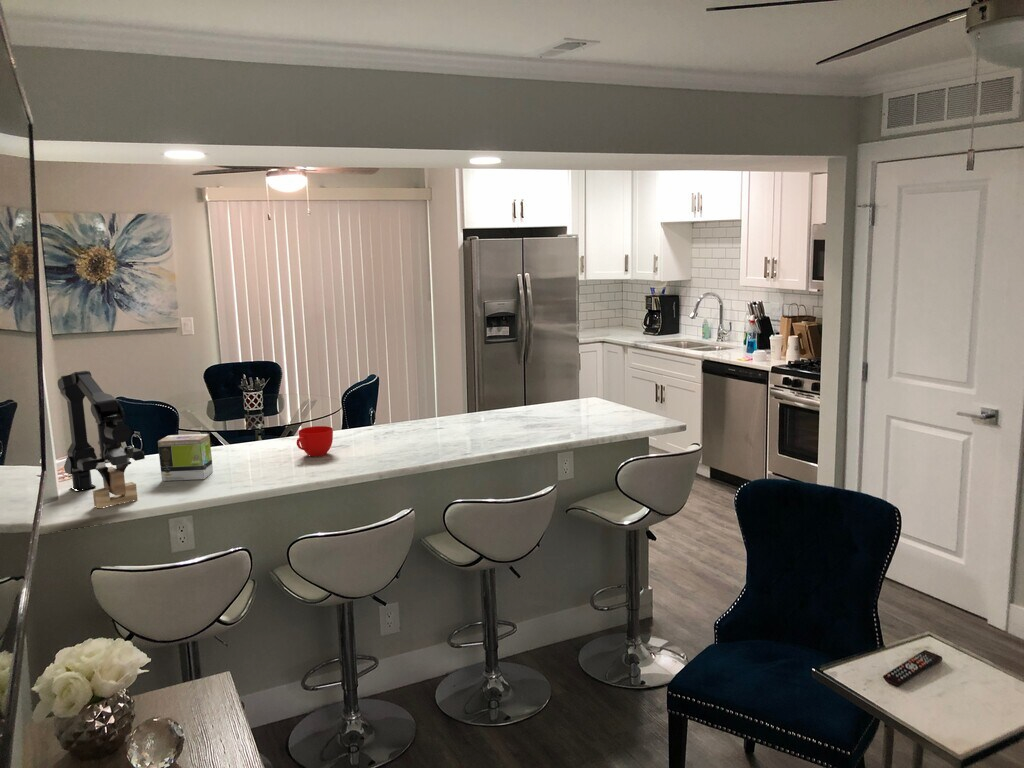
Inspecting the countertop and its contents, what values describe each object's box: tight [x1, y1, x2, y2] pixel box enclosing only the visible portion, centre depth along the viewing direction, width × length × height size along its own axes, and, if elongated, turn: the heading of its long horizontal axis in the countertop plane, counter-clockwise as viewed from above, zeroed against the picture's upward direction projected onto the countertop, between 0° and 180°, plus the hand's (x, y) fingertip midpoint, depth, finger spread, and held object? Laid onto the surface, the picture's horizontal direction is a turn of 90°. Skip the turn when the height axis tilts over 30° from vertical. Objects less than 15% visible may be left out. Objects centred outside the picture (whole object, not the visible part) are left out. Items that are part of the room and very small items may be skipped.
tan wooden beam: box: [102, 466, 126, 496], centre depth 257 cm, size 10×3×7 cm, turn 46°
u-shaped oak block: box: [92, 481, 139, 509], centre depth 258 cm, size 4×12×6 cm, turn 136°
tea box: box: [157, 433, 214, 482], centre depth 286 cm, size 15×10×15 cm
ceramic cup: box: [296, 425, 334, 457], centre depth 311 cm, size 13×17×10 cm
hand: (114, 485), depth 257 cm, fingers closed on tan wooden beam, 3 cm apart
